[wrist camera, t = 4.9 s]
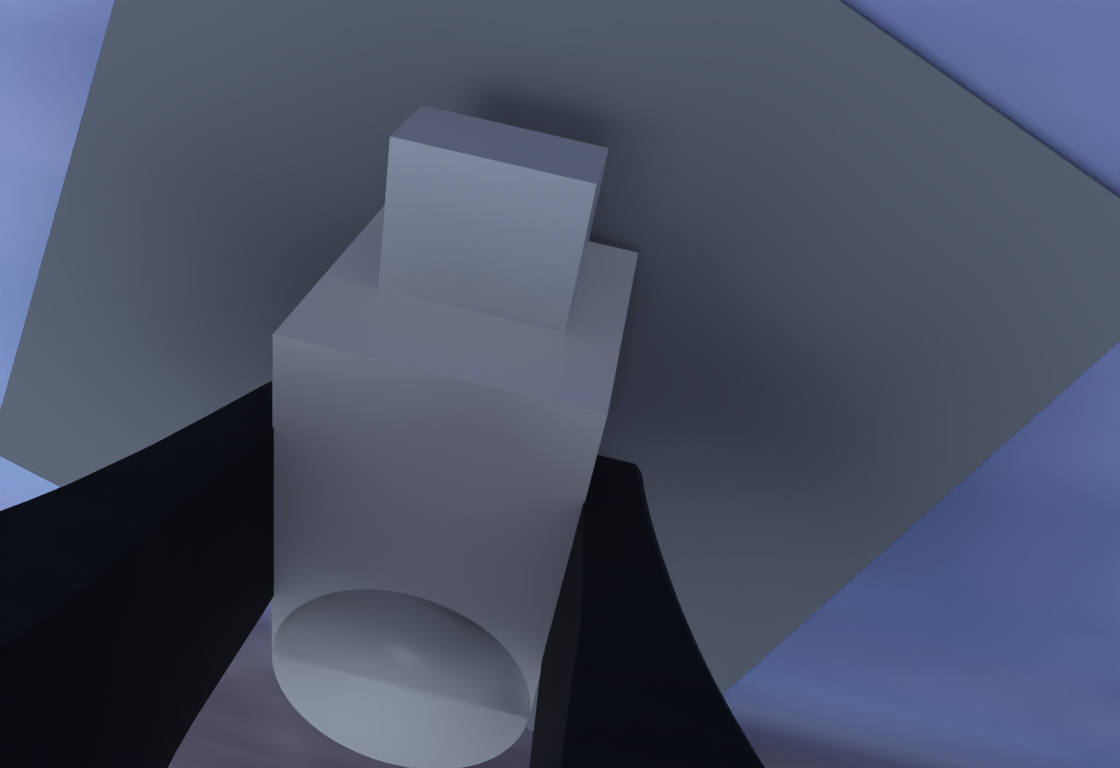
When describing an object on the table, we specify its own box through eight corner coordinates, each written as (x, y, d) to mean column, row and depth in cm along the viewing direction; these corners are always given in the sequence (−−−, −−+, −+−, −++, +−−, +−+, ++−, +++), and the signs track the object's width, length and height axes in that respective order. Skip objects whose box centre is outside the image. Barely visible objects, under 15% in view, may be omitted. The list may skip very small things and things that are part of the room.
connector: (553, 590, 16) (509, 793, 13) (364, 544, 16) (271, 733, 13) (670, 125, 11) (649, 253, 8) (403, 64, 11) (273, 165, 8)
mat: (628, 755, 19) (626, 779, 19) (10, 432, 17) (-11, 450, 17) (1188, 244, 12) (1208, 261, 12) (258, -412, 10) (233, -427, 10)
